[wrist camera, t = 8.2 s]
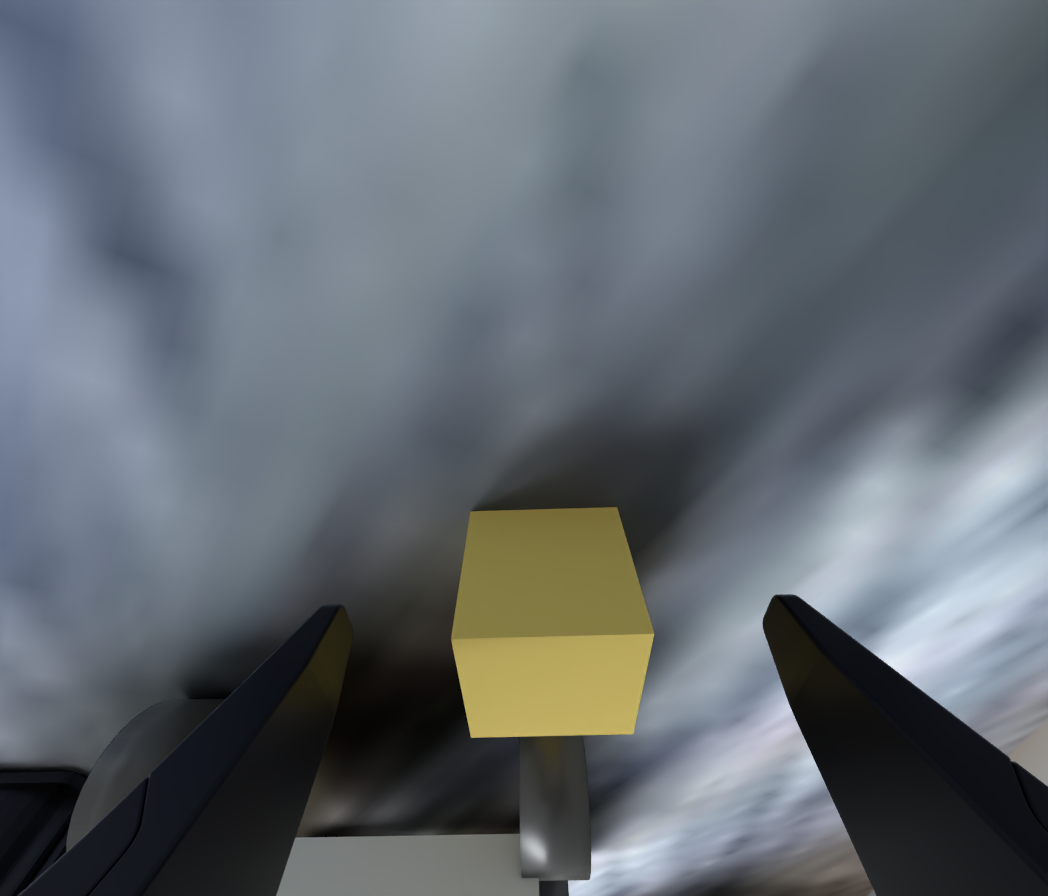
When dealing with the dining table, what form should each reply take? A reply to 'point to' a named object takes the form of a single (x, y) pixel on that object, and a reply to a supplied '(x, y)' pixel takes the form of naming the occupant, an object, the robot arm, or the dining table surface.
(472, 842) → the trolley
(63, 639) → the dining table surface
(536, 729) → the yellow step block
